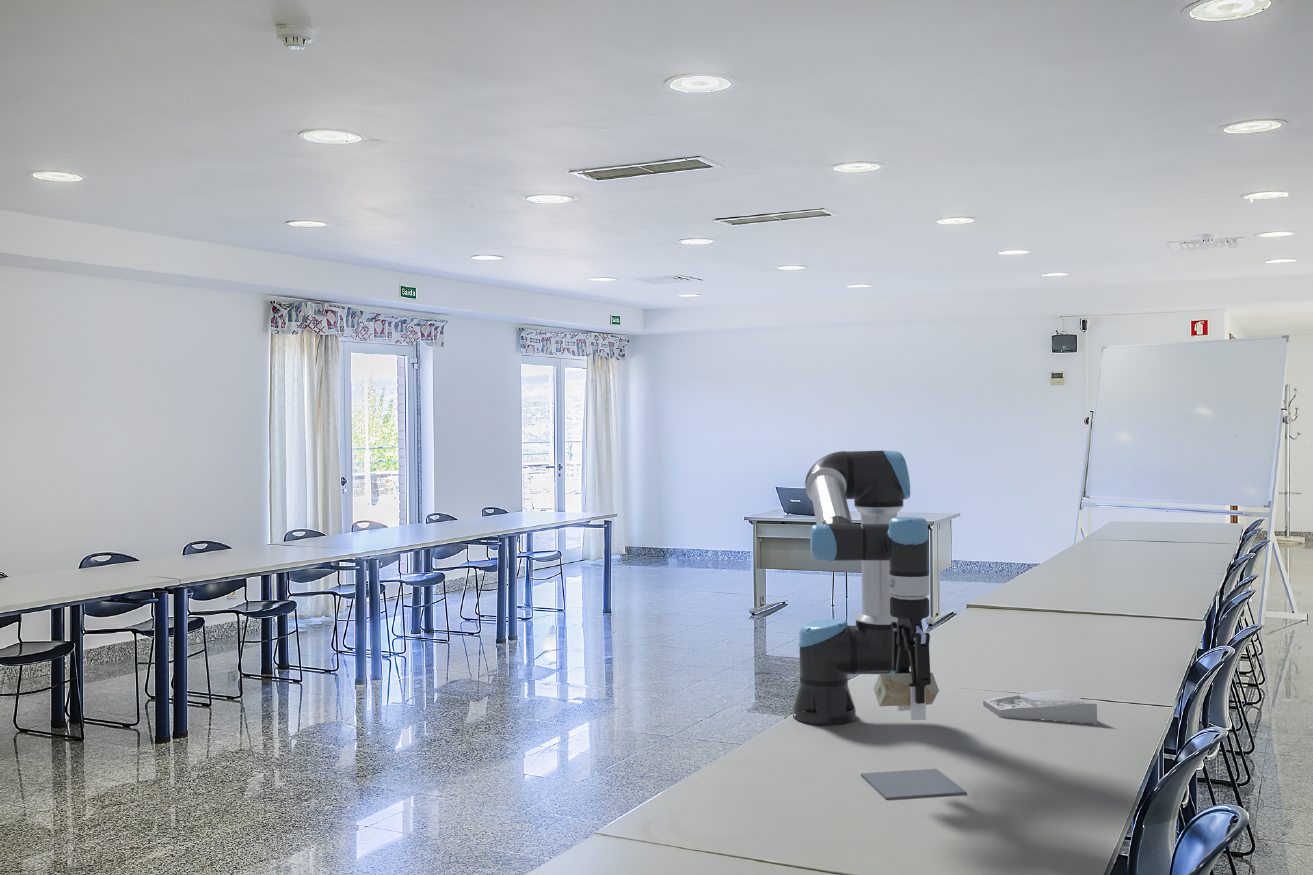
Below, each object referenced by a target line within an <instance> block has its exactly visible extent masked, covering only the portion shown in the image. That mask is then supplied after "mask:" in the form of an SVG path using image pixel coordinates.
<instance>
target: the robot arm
mask: <svg viewBox="0 0 1313 875" xmlns="http://www.w3.org/2000/svg"><path fill="white" fill-rule="evenodd" d="M804 483H805V485H804V486H805V492H806V495H807V497H808V498H809V500H810V501H811V502H812V507H813V513H814V518H815V523H816V524H814V525H812V526H811V527H810V530H809V542H810V543H809V544H810V546H809V547H810V555H811V558H812V559H813V560H815V561H823V562H824V561H827V562H830V563H831V562H835V561H836V562H843V561H845V562H847V561H848V562H849V561H851V562H852V561H853V562H854V561H855V562H856V561H861V612H860V613H859V614H858V615H857V616H855V625H848V622H847V620H846V619H844V618H823V619H822V618H821V619H816V620H812V621H809V622H806V623H805V624H803V625H802V626H801V627H800V629H799V634H798V635H799V636H798V637H799V638H798V648H799V651H798V652H799V686H798V689H797V691H796V692H797V693H796V696H795V697H794V702H793V704H792V717H793V718H794V719H795V720H796V721H799V722H802V723H805V724H811V725H820V726H822V725H825V726H827V725H828V726H833V725H843V724H847V723H851V722H853V721H854V720H856V717H857V716H856V712H857V709H856V706H855V702H854V701H853V700H854V699H853V697H852V694H851V691H850V688H849V680H848V679H849V677H848V676H849V675H880V674H902V673H911V676H912V683H910V684H909V686H910V695H911V705H903V706H896V710H897V711H898V712H904V711H910V720H911V721H923V720H925V721H926V720H927V719H926V718H927V712H926V711H927V710H926V709H927V708H926V706H927V705H926V699H925V686H927V685H930V684H931V676H930V673H931V661H930V660H931V659H930V641H931V640H930V639H931V635H930V632H924V627H923V621H922V620H923V619H927V618H928V617H929V616H930V598H928V596H929V595H930V574H929V573H930V572H929V539H930V533H929V528H928V527H929V526H928V524H929V523H928V521H927V519H926V518H925V517H917V516H898V513H899V512H900V511H901V510H902V509H903V508H904V500H908V499H909V498H911V480H910V474H909V469H908V465H907V461H906V459H905V457H904V455H903V454H902V453H901V452H900V451H897V450H896V451H895V450H884V449H882V450H853V451H851V450H850V451H845V450H842V451H835V452H832V453H829V454H826V455H825V456H823V457H821V458H820V459H818V460H816V462H815V463H813V465H812V466H811V468H810V469H809V470H808V472H807V474H806V477H805V481H804ZM848 500H854V506H853V507H854V508H855V509H856V510H857V511H858V512H859V513H860V523H853V520H852V519H853V518H852V516H851V512H850V509H849V504H848ZM794 714H796V715H795V716H794Z"/></svg>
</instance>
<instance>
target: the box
mask: <svg viewBox="0 0 1313 875" xmlns="http://www.w3.org/2000/svg"><path fill="white" fill-rule="evenodd" d="M930 676H931V684H930V685H927V686H925V699H926V706H928V705H933V703H934V702H935V700H936V698H937V695H938V694H939V691H940V690H939V687H938V684H937V681H936V679H935V676H934V674H933V672H930ZM910 683H912V676H911V673H902V674H878V677H877V680H876V682H875V683H874V687H873V691H874V694H875V697H876V701H877V704H878V706H879V707H895V706H896V707H897V706H903V705H911V695H910V686H909V684H910Z"/></svg>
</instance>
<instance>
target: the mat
mask: <svg viewBox="0 0 1313 875" xmlns="http://www.w3.org/2000/svg"><path fill="white" fill-rule="evenodd" d="M860 776H861V777H862V778H863V780H865V781H866V782H867V783H868V784H870V786H871V787H872V788H873V789H874V790H876V791H877V793H879V795H881V796H882V797H883V798H884V799H885V800H896V799H897V800H898V799H912V798H913V799H914V798H926V797H927V798H929V797H940V796H941V797H942V796H943V797H944V796H957V795H967V794H968V792H967V790H965V789H964V788H962V787H961V786H960V785H958V784H957V783H956V782H955V781H954V780H952V779H950V778H949V777H948V776H946V775H945V774H944V773H943V772H941V771H940V770H939V769H937V768H926V769H925V768H923V769H910V770H897V771H896V770H893V771H892V770H891V771H879V772H878V771H877V772H862V773H860Z"/></svg>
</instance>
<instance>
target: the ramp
mask: <svg viewBox="0 0 1313 875" xmlns="http://www.w3.org/2000/svg"><path fill="white" fill-rule="evenodd" d="M982 702H983V703H982V705H983V707H984V708H986V709H987V710H988V711H990V712H992V713H993V714H994V715H995V716H997V717H998V716H999V717H998V718H1001V717H1002V718H1003V717H1005V718H1006V719H1015V718H1018V720H1029V719H1044V720H1053V721H1052V722H1057V721H1071V722H1079V723H1078V724H1084V723H1095V724H1094V725H1098V704H1097V703H1095V702H1094V703H1093V702H1087V701H1086V700H1084V699H1082V698H1081V697H1079V696H1077V695H1075V694H1073V693H1071V692H1069V691H1067V690H1065V689H1047V690H1040V691H1032V692H1026V693H1019V694H1018V693H1017V694H1012V695H1004V696H997V697H994V698H993V697H992V698H989V699H983V701H982ZM1005 718H1003V719H1005ZM1055 720H1056V721H1055Z"/></svg>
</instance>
